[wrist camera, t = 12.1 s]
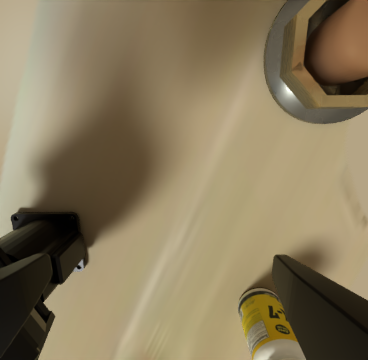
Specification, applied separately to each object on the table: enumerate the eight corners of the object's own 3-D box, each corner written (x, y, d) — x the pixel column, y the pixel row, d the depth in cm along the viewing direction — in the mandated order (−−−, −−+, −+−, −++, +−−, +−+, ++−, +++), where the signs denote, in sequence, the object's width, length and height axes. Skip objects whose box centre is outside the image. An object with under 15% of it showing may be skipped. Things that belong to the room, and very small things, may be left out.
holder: (258, 124, 18) (269, 123, 16) (270, -25, 16) (285, -54, 13) (383, 123, 18) (415, 122, 16) (416, -28, 16) (460, -58, 13)
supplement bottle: (288, 301, 23) (344, 395, 15) (260, 327, 24) (298, 430, 16) (256, 278, 22) (295, 365, 14) (228, 307, 23) (250, 403, 15)
